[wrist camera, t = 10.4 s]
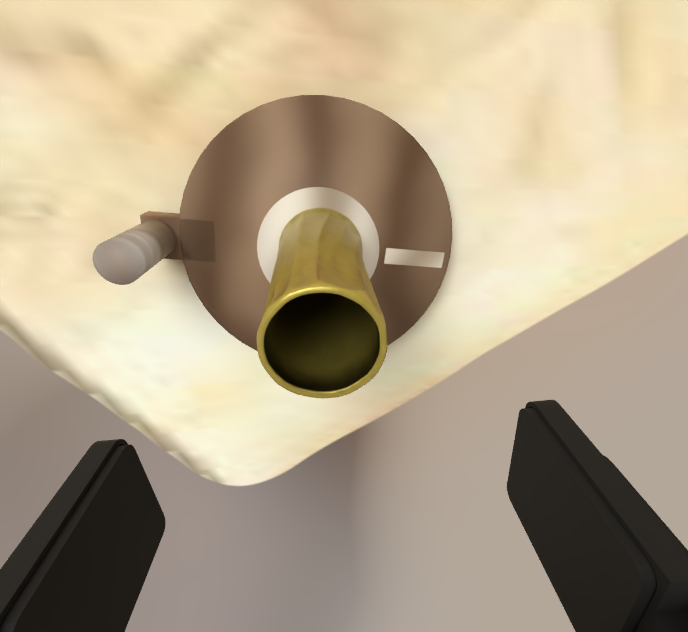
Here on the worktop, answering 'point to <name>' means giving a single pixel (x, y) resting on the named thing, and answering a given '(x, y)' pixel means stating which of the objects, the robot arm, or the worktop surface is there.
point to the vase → (321, 310)
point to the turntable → (298, 210)
